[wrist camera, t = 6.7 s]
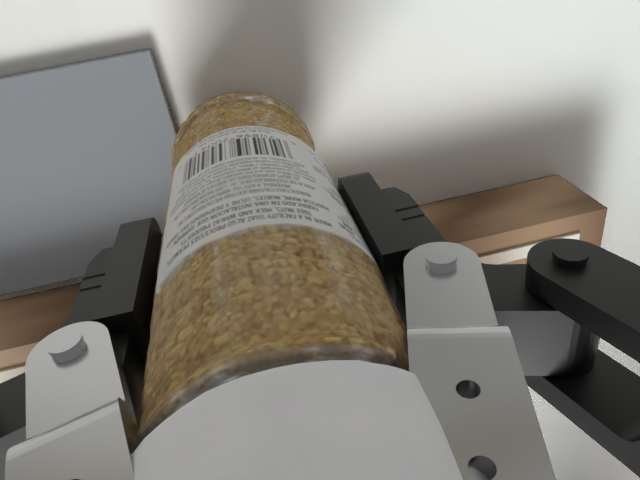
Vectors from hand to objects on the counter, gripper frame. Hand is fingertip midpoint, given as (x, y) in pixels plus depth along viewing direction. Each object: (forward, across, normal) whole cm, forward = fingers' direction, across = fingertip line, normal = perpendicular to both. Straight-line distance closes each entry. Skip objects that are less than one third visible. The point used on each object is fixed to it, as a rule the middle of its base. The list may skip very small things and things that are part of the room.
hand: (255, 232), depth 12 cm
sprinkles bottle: (+5, 0, 0) cm, 5 cm away
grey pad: (+6, +6, 0) cm, 9 cm away
